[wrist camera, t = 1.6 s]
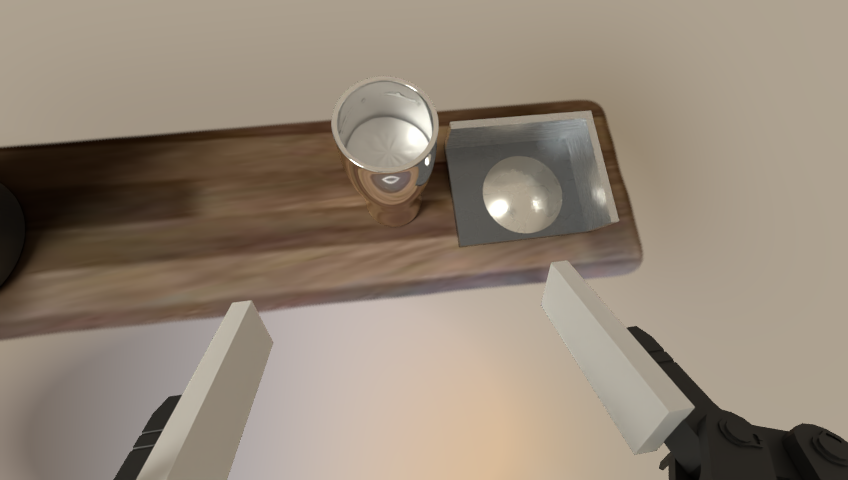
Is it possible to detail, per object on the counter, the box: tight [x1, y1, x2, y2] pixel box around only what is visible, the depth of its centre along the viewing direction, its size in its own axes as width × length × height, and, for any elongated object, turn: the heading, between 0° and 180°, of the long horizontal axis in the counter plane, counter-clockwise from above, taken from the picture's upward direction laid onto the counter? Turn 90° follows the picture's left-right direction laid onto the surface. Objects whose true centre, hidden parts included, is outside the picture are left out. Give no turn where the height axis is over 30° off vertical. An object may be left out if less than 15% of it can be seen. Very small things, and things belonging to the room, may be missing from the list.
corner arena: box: [444, 111, 619, 247], centre depth 32 cm, size 15×12×5 cm
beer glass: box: [332, 76, 439, 227], centre depth 26 cm, size 7×7×15 cm
